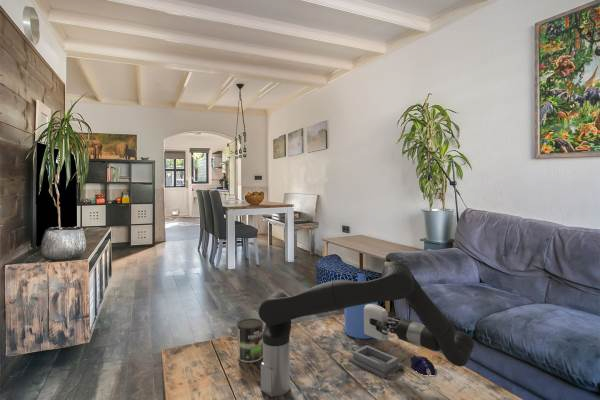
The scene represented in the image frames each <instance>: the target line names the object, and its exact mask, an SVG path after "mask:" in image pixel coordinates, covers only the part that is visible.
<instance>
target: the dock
mask: <svg viewBox="0 0 600 400" xmlns="http://www.w3.org/2000/svg"><path fill="white" fill-rule="evenodd" d="M347 360H348V362H350V363H351V364H354V365H355V366H357V367H360V368H362V369H363V370H365V371H368V372H370V373H372V374H374V375H376V376H378V377H379V378H382V379H383V380H384V379H386V378H387V377H389V376H391V375H392V374H394V373H395V372H397V371H399V370H400V369H402V368H403V363H401V362H399V358H398V357H396V356H395V355H394V356H393V355H391V354H389V353H386V352H384V351H383V350H382V351H381V350H379V349H377V348H374V347H372V346H371V345H364V346H362V347H361V348H358V349H356V350H354V351H353V352H352V356H350V357H348V359H347ZM398 369H399V370H398Z"/></svg>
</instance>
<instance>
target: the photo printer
mask: <svg viewBox="0 0 600 400" xmlns="http://www.w3.org/2000/svg"><path fill="white" fill-rule="evenodd" d="M388 317H389V311H387V309H385V308H384V307H382V306H380V305H374V304H368V305H366V306H365V307H364V333H365V334H366V335H369V336H371V337H373V338H374V339H376V340H379V341H381V342H386V341H388V339H389V332H388V333H387V335H384V334H382V333H380V332H379V331H377V330H376V326H374V325H371V324H370V319H371V318H372V319H375V320H378V321H382V322H384V321H388ZM381 325H383V324H381ZM386 327H387V324H386Z"/></svg>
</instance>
